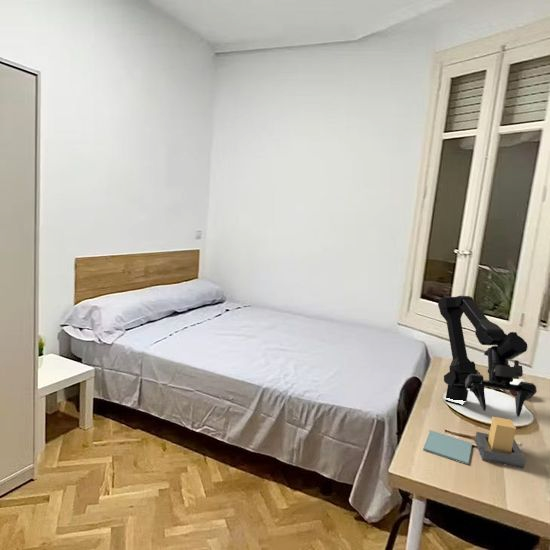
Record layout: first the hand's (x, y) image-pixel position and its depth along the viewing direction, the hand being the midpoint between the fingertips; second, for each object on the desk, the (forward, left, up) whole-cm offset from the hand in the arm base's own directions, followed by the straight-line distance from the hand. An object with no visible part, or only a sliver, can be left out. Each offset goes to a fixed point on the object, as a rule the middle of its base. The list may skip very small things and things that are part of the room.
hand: (501, 413), depth 131 cm
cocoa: (+6, +48, -11) cm, 50 cm away
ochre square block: (+1, -4, -11) cm, 11 cm away
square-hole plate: (+1, -4, -11) cm, 11 cm away
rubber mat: (-12, -9, -11) cm, 19 cm away
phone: (-12, +56, -11) cm, 58 cm away
